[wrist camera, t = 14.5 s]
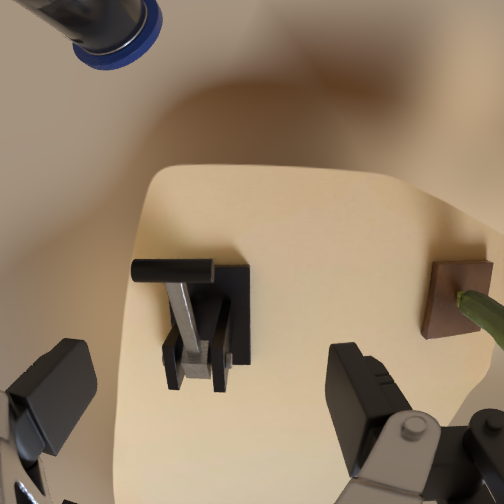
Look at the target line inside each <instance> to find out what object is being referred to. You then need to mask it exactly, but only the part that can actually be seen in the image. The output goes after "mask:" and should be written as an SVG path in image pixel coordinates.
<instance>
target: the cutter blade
mask: <svg viewBox="0 0 504 504" xmlns="http://www.w3.org/2000/svg"><path fill="white" fill-rule="evenodd" d="M131 277H132V280H133V281H134V282H149V283H165V286H166V290H167V293H168V296H169V300H170V303H171V306H172V309H173V313H174V316H175V319H176V322H177V325H178V328H179V331H180V334H181V337H182V340H183V350H182V357H181V366H182V368H183V370H184V373H185V375H186V378H199V379H211V369H212V361H211V348H210V343H209V341H206V340H200V339H199V335H198V331H197V327H196V323H195V319H194V315H193V311H192V306H191V302H190V298H189V294H188V289H187V285H186V283H213V282H214V261H213V259H134V260H133V261H132V264H131Z"/></svg>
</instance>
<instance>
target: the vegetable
mask: <svg viewBox="0 0 504 504" xmlns="http://www.w3.org/2000/svg"><path fill="white" fill-rule="evenodd" d="M457 306H458V307H459V309H460V311H461V312H462V314H464V315H465V316H466V317H468V318H469V319H470V320H471V321H473V322H474V323H475V324H477V325H478V326H480V327H481V328H482V329H484V330H486V331H487V332H488V333H489V334H490V335H491V336H492V337H493V338H494V339H495V341H496V342H497V344H498V345H499V346H500V347H501V348H502V349H503V350H504V306H503V305H501V304H500V303H498V302H497V301H495V300H494V299H492V298H491V297H489V296H487V295H485V294H483V293H480V292H478V291H474V290H469V291H460V292H457Z"/></svg>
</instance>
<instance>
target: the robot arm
mask: <svg viewBox="0 0 504 504" xmlns="http://www.w3.org/2000/svg"><path fill="white" fill-rule="evenodd" d="M13 1H15V2H16V3H18V4H19V5H21V6H22V7H24V8H25V9H27V10H29V11H30V12H32V13H33V14H34V15H36V16H37V17H39V18H40V19H42V20H44V21H45V22H46V23H48V24H49V25H51V26H52V27H54V28H55V29H57V30H58V31H59V32H61V33H62V34H64V35H65V36H66V37H68V38H69V39H71V40H72V42H74V43H75V44H77V45H79V46H80V47H82V49H83V50H85V51H86V52H87V53H89V54H91V55H94V56H108V55H112V54H115V53H117V52H119V51H121V50H123V49H125V48H126V47H128V46H129V45H130V44H131V43H133V42H134V41H135V40H136V39H137V38H138V37H139V35H140V34H141V33H142V31H143V30H144V28H145V26H146V23H147V20H148V8H147V6H146V4H145V2H144V1H143V0H13ZM66 37H65V38H66ZM71 40H70V41H71ZM96 391H97V378H96V374H95V371H94V367H93V364H92V360H91V356H90V353H89V349H88V345H87V343H86V342H85V341H84V340H77V339H69V338H64V339H62V340H61V341H60V342H59V343H58V344H57V345H56V346H55V347H54V348H53V349H52V350H51V351H50V352H48V353H46V354H44V355H42V356H41V357H39V358H38V359H37V360H36V361H35V362H34V363H33V366H32V365H31V366H30V367H29V368H28V369H27V371H26V372H24V373H23V374H22V375H21V376H20V377H19V378H18V379H17V380H16V381H15V382H14V383H13V384H12V385H11V386H10V387H9V388H8V389H7V390H6V391H5V392H3V391H1V390H0V504H53V502H52V499H51V495H50V492H49V488H48V484H47V480H46V476H45V471H44V467H43V463H42V460H41V459H40V457H39V455H40V454H41V452H44V453H46V454H49V455H53V456H57V454H58V452H59V451H60V449H61V448H62V446H63V444H64V442H65V441H66V440H67V438H68V436H69V435H70V433H71V431H72V430H73V428H74V427H75V425H76V424H77V422H78V421H79V419H80V417H81V416H82V414H83V413H84V411H85V410H86V408H87V407H88V405H89V404H90V402H91V400H92V399H93V397H94V396H95V394H96ZM325 397H326V402H327V406H328V409H329V412H330V415H331V418H332V421H333V425H334V428H335V431H336V434H337V437H338V441H339V444H340V447H341V450H342V453H343V457H344V460H345V463H346V467H347V470H348V473H349V476H350V477H352V478H351V480H350V481H349V482H348V484H347V485H346V487H345V488H344V490H343V491H342V493H341V494H340V496H339V497H338V499H337V500H336V502H335V503H334V504H423V501H436V502H437V504H504V412H503V411H501V410H497V409H483V410H480V411H478V412H476V413H475V414H474V415H473V416H472V418H471V420H470V422H469V424H468V426H452V427H442V426H440V425H439V423H438V421H437V420H436V419H435V418H434V417H432V416H431V415H429V414H427V413H425V412H421V411H416V410H413V409H412V408H411V406H410V404H409V403H408V401H407V400H406V398H405V397H404V395H403V394H402V392H401V391H400V389H399V387H398V386H397V384H396V383H394V380H393V378H392V377H391V375H389V372H388V371H387V369H386V368H385V366H384V365H383V363H381V362H380V361H378V360H377V359H375V358H374V357H372V356H363V355H362V353H361V351H360V350H359V348H358V347H357V345H356V343H355V342H349V343H337V344H331V345H330V348H329V355H328V365H327V374H326V382H325ZM485 482H486V484H487V486H488V488H489V490H490V491H491V493H492V495H493V497H494V499H495V501H496V503H495V501H494V499H493V498H492V496H491V494H490V492H489V490H488V488H487V486H486V485H485ZM62 504H77V503H73V502H71V501H68V500H64V501H63V503H62Z"/></svg>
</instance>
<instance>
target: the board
mask: <svg viewBox="0 0 504 504" xmlns="http://www.w3.org/2000/svg"><path fill="white" fill-rule="evenodd" d="M492 269H493V262H490V261H488V260H480V261H445V262H433V265H432V273H431V281H430V288H429V295H428V301H427V307H426V313H425V319H424V324H423V329H422V334H421V335H422V336H423V337H424V338H425V339H426V340H428V339H435V338H441V337H448V336H454V335H460V334H466V333H472V332H477V331H480V329H481V327H480V326H478V325H477V324H475V323H474V322H473V321H471V320H470V319H469V318H468V317H466V316H465V315H464V314H462V312H461V311H460V309H459V307H458V306H457V292H460V291H469V290H474V291H478V292H480V293H483V294H485V295H487V296H488V293H489V287H490V281H491V275H492Z"/></svg>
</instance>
